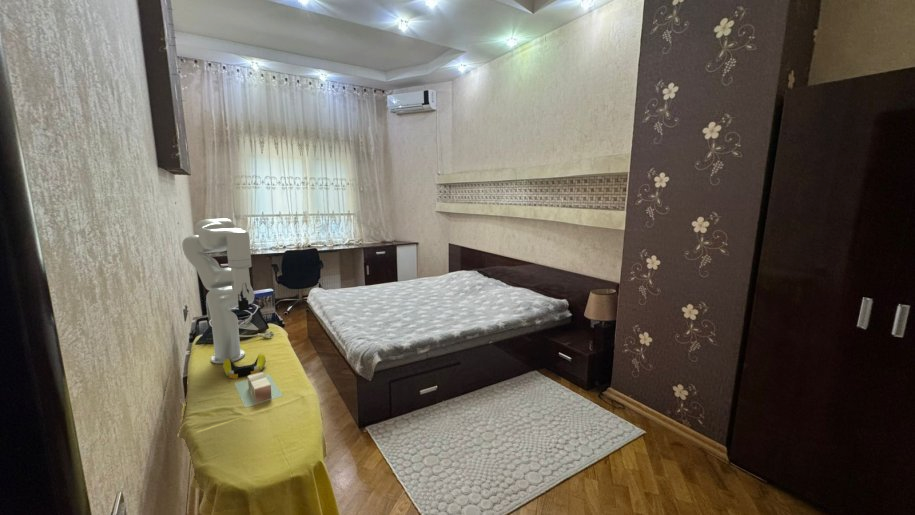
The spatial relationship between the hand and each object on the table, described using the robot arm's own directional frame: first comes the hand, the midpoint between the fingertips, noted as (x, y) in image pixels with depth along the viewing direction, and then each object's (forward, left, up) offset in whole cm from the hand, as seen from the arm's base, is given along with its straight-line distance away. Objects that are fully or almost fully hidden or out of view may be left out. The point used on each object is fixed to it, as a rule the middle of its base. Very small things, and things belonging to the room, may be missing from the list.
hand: (243, 309), depth 142 cm
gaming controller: (-3, -1, -27) cm, 28 cm away
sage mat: (+15, 0, -27) cm, 31 cm away
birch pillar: (+12, 0, -24) cm, 27 cm away
